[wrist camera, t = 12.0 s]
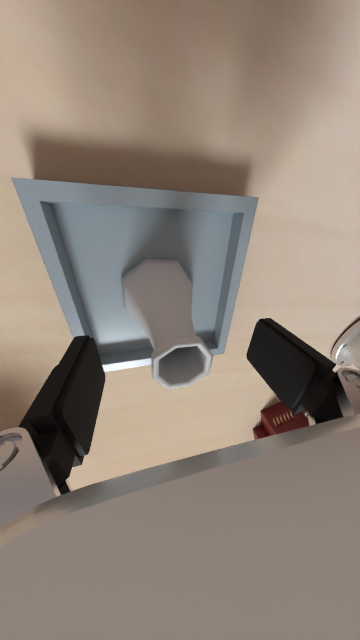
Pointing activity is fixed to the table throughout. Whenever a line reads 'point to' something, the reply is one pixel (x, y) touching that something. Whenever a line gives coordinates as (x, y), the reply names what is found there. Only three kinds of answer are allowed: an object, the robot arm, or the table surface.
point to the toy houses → (279, 421)
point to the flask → (167, 320)
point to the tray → (136, 256)
